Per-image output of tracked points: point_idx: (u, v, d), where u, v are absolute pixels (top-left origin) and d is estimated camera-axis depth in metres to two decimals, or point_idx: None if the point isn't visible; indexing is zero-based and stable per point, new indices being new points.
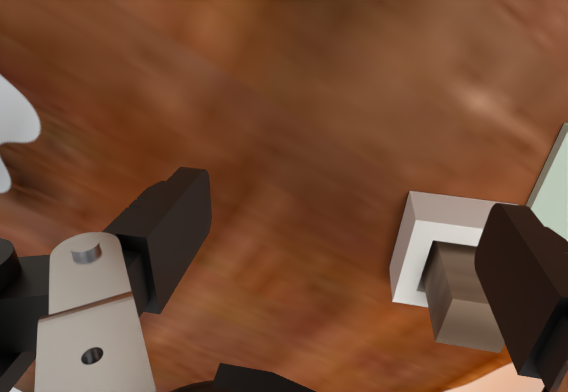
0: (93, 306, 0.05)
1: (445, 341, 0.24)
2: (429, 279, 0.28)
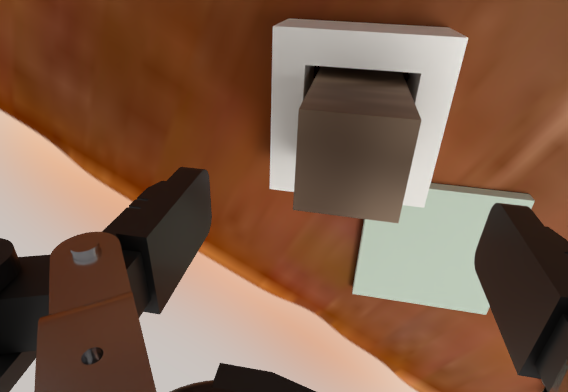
0: (93, 306, 0.05)
1: (304, 126, 0.13)
2: (342, 81, 0.16)
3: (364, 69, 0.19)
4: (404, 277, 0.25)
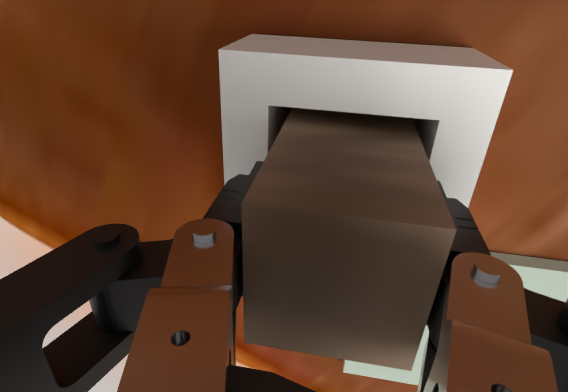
0: (194, 290, 0.06)
1: (253, 229, 0.08)
2: (323, 131, 0.11)
3: None
4: None
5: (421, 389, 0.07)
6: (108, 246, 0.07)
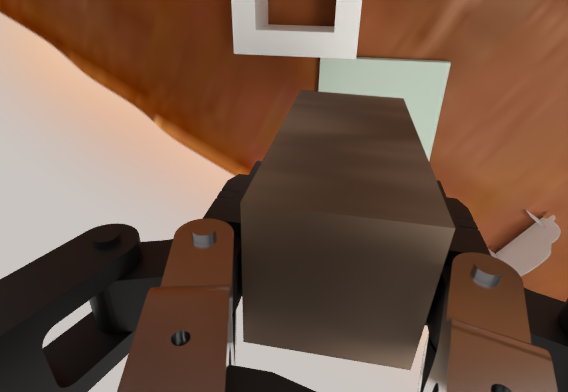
0: (194, 290, 0.06)
1: (252, 228, 0.08)
2: (322, 130, 0.11)
3: (355, 104, 0.13)
4: None
5: (421, 389, 0.07)
6: (108, 246, 0.07)
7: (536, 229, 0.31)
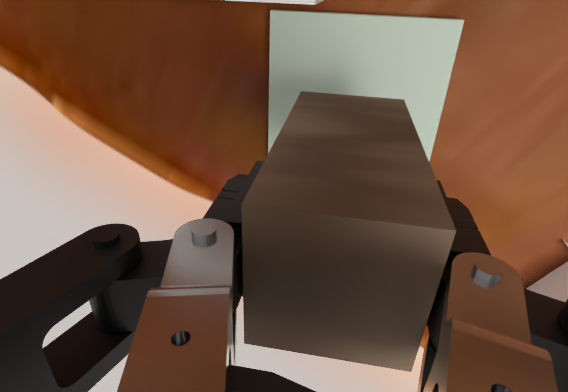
0: (194, 290, 0.06)
1: (253, 230, 0.08)
2: (323, 132, 0.11)
3: (355, 106, 0.13)
4: None
5: (421, 389, 0.07)
6: (108, 246, 0.07)
7: None
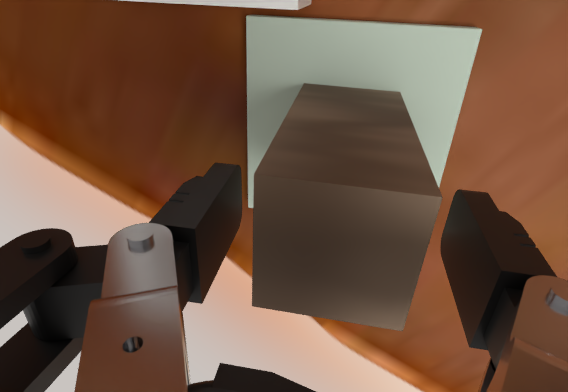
0: (140, 296, 0.06)
1: (264, 198, 0.09)
2: (325, 117, 0.12)
3: (355, 96, 0.14)
4: None
5: None
6: (37, 252, 0.07)
7: None
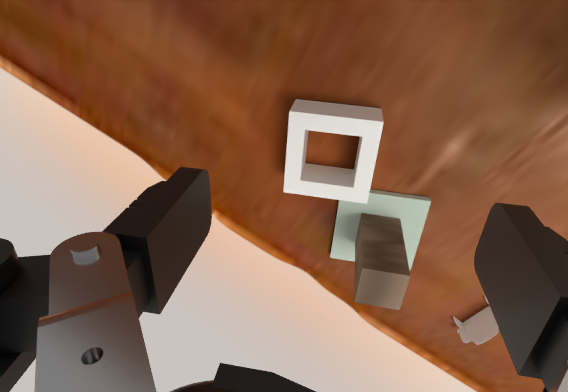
0: (93, 306, 0.05)
1: (363, 273, 0.32)
2: (375, 239, 0.36)
3: (383, 223, 0.38)
4: None
5: None
6: None
7: (491, 310, 0.43)
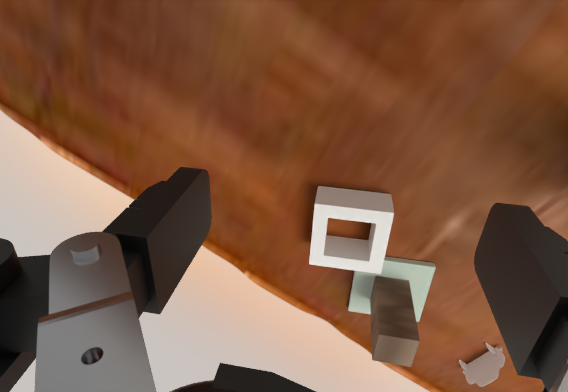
0: (93, 306, 0.05)
1: (380, 338, 0.39)
2: (388, 303, 0.42)
3: (394, 286, 0.44)
4: None
5: None
6: None
7: (491, 354, 0.49)
